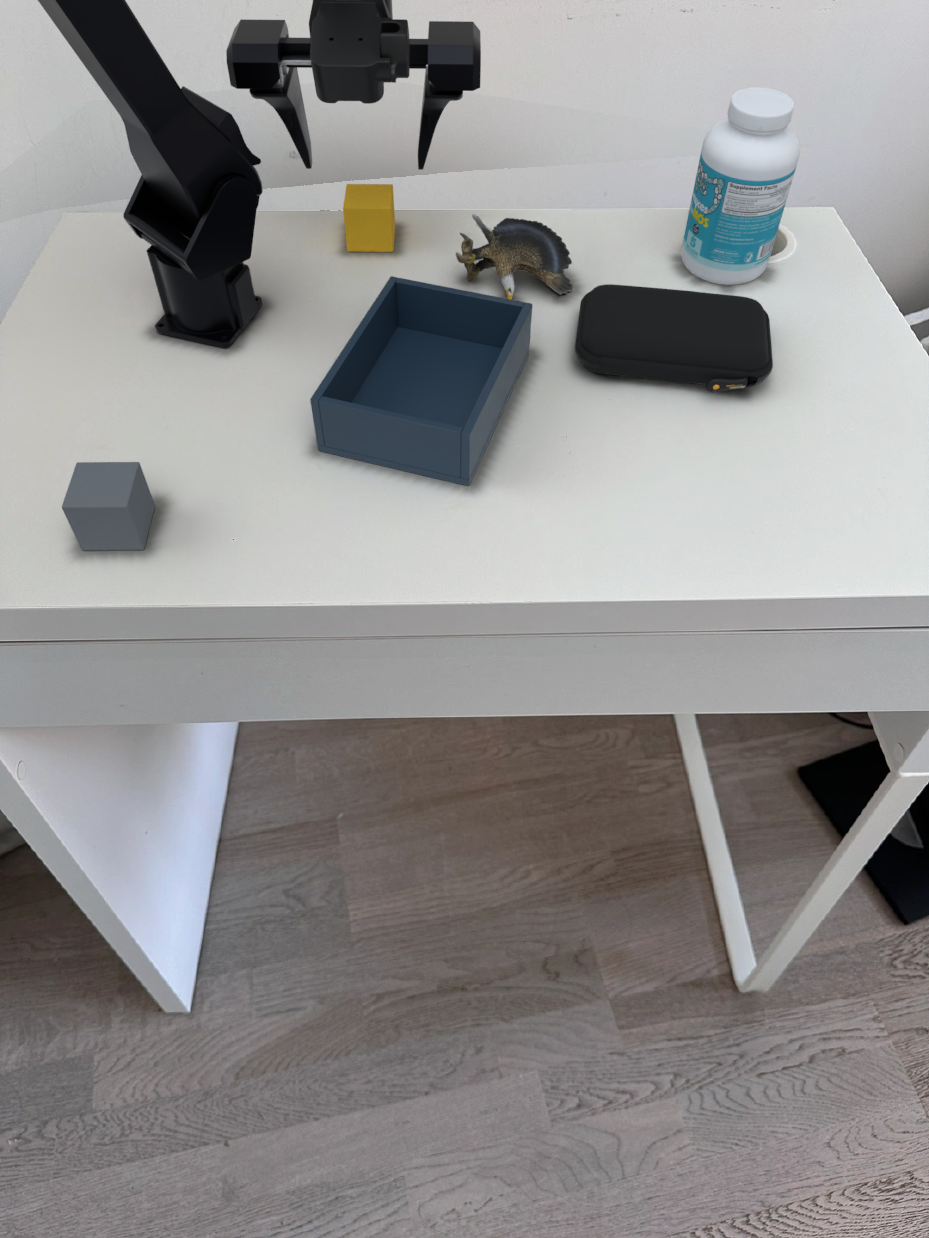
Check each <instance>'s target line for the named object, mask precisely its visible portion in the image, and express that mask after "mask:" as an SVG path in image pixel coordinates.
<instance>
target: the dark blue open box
mask: <svg viewBox="0 0 929 1238" xmlns="http://www.w3.org/2000/svg"><path fill="white" fill-rule="evenodd" d="M532 316H533V303H532V302H531V303H530V302H525V301H519V300H515V299H512V300H511V299H507V298H505V297H500V296H495V295H489V294H485V293H479V292H473V291H469V290H465V289H458V288H453V287H448V286H444V285H439V284H433V283H428V282H424V281H418V280H412V279H408V278H402V277H397V276H389V278H388V280H387V281H386V283H385V284H384V286H383V287H382V289H381V290H380V292H379V294H378V295H377V297H376V298H375V300H374V301H373V303H371V306H370V307H369V309H368V310H367V312H366V313H365V314H364V317H363V318H362V319H361V321H360V323H359V324H358V325H357V327H356V328H355V330H354V331H353V333H352V335H351V336H350V338H349V339H348V341H347V342H346V344H345V345H344V347H343V348H342V350H341V351H340V353H339V355H338V356H337V358H335V360H334V362H333V364H332V365H331V367H330V368H329V370H328V371H327V373H326V374H325V376H324V377H323V379H322V380H321V382H320V383H319V385H318V386H317V388H316V389H315V391H314V393H313V394H312V396H311V397H310V399H309V400H310V401H309V402H310V409H311V415H312V420H313V427H314V432H315V434H314V435H315V440H316V445H317V450H318V452H323V453H327V454H331V455H336V456H339V457H344V458H348V459H353V460H357V461H360V462H364V463H369V464H374V465H378V466H383V467H387V468H391V469H395V470H399V471H404V472H408V473H411V474H416V475H421V476H424V477H428V478H433V479H437V480H441V481H446V482H451V483H455V484H459V485H463V486H467V487H469V486H470V485H471V482H472V480H473V478H474V476H475V473H476V472H477V469H478V467H479V465H480V463H481V460H482V459H483V456H484V454H485V452H486V449H487V447H488V445H489V444H490V441H491V439H492V437H493V435H494V432H495V430H496V428H497V425H498V424H499V421H500V419H501V418H502V415H503V412H504V410H505V408H506V406H507V404H508V401H509V399H510V397H511V395H512V393H513V391H514V388H515V386H516V384H517V382H518V380H519V378H520V375H521V373H522V371H523V369H524V366H525V365H526V362H527V360H528V358H529V355H530V346H531V345H530V343H531V333H532V332H531V331H532Z"/></svg>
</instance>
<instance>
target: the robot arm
mask: <svg viewBox="0 0 929 1238" xmlns="http://www.w3.org/2000/svg"><path fill="white" fill-rule="evenodd" d="M37 2H38V3H39V4H40V5H41V7H42V8H43V10H44V11H45V12H46V14H47V15H48V17H49V18H50V20H51V21H52V22H53V24H54V25H55V27H56V28H57V29H58V31H59V32H60V34H61V35H62V36H63V38H64V39H65V40H66V42H67V43H68V45H69V46H70V48H71V49H72V50H73V52H74V53H75V55H76V56H77V58H78V59H79V60H80V61H81V63H82V64H83V66H84V67H85V68H86V70H87V71H88V73H89V74H90V75H91V77H92V78H93V80H94V81H95V82H96V84H97V85H98V87H99V88H100V89H101V91H102V93H103V94H104V95H105V97H106V99H108V101H109V102H110V104H111V105H112V107H113V109H115V110H116V112H117V113H118V115H119V116H120V118H121V120H122V122H123V124H124V128H125V133H126V138H127V143H128V148H129V151H130V154H131V156H132V158H133V160H134V162H135V163H136V166H137V168H138V170H139V172H140V174H141V175H140V177H139V179H138V182H137V184H136V186H135V188H134V190H133V193H132V195H131V197H130V199H129V201H128V203H127V205H126V207H125V210H124V212H123V214H122V216H123V219H124V221H125V223H127V225H128V226H129V228H130V229H131V230H132V231H133V233H134V234H135V236H137V238H138V239H141V240H144V241H145V242H147V243H148V244H149V245H150V246H149V247H148V248H147V249H146V254H147V257H148V260H149V264H150V268H151V272H152V275H153V278H154V281H155V286H156V288H157V293H158V296H159V299H160V303H161V306H162V311H163V315H162V316H161V318H159V320H158V321H157V322H156V323H155V324H154V329H155V331H156V333H158V334H161V335H165V336H170V337H174V338H179V339H184V340H188V341H194V342H197V343H201V344H205V345H206V344H207V345H211V346H216V347H220V348H228V347H231V345H232V344H233V343H234V342H235V340H236V339H237V338H238V337H239V335H241V333H242V332H243V330H244V329H245V328H246V326H247V325H248V323H249V322H250V321H251V320H252V319H253V317H254V316H255V315H256V313H257V312H258V311H259V309H260V308H261V307H262V306H263V300H262V297H261V296H259V295H255V290H254V284H253V280H252V274H251V270H250V269H251V268H250V266H249V265H248V264H246V263H244V262H246V261H249V260H250V259H251V257H252V249H253V242H254V236H255V235H254V234H255V225H256V218H257V209H258V207H259V203H260V196H261V195H262V194H263V192H264V191H263V183H262V180H261V177H260V175H259V172H258V170H257V169H256V168H255V166H259V165H260V164H261V163H262V159H261V158H260V157H258V156H257V155H255V153H253V152H252V151H251V150H250V148H249V147H248V146H247V143H246V142H245V139H244V137H243V134H242V131H241V129H240V126H239V125H238V123H237V121H236V120H235V118H234V116H233V114H232V113H230V112H228V111H227V110H225V109H224V108H223V107H220V106H219V105H217V104H215V103H213V102H212V101H210V100H208V99H207V98H205V97H203V96H201V95H200V94H198V93H196V92H195V91H193V90H191V89H189V88H188V87H186V86H182V87H180V85H179V84H178V82H177V80H176V79H175V77H174V75H173V74H172V72H171V71H170V70H169V68H168V66H167V65H166V62H165V61H164V60H163V58H162V56H161V55H160V53H159V51H158V50H157V48H156V47H155V46H154V44H153V42H152V40H151V39H150V37H149V36H148V35H147V33H146V31H145V30H144V28H143V26H142V24H141V23H140V22H139V20H138V18H137V17H136V15H135V13H134V12H133V11H132V9H131V7H130V5H129V4H128V2H127V1H126V0H37ZM308 19H309V20H308V28H309V31H308V32H309V37H290V35H289V27H288V24H287V22H286V20H285V19H240V20H239V21H238V23H237V24H236V26H235V27H234V29H233V31H232V34H231V36H230V39H229V42H228V45H227V47H226V50H225V51H226V52H225V53H226V67H227V72H228V77H229V83H230V86H231V87H232V88H234V89H237V90H249V94H250V97H252V98H253V99H255V100H263V101H265V102H266V103H267V104H268V105H270V106H271V107H272V109H274V110H275V112H276V113H277V115H278V116H279V118H280V119H281V121H282V123H283V124H284V126H285V128H286V130H287V132H288V134H289V136H290V139H291V140H292V142H293V145H294V147H295V148H296V150H297V153H298V155H299V156H300V158H301V161H302V163H303V165H304V167H305V169H306V170H307V169H308V170H311V169H312V167H313V153H312V151H313V150H312V141H311V140H312V139H311V135H310V130H309V125H308V120H307V114H306V108H305V102H304V99H303V92H302V88H301V87H302V86H301V82H300V77H299V71H298V68H301V69H302V68H305V69H307V68H309V69H311V71H312V76H313V83H314V88H315V94H316V97H317V99H318V100H320V101H321V102H322V103H326V104H337V103H338V102H360V103H362V104H364V105H365V104H367V105H368V104H375V103H377V102H379V101H381V100H382V99H383V97H384V93H385V83H393V84H394V83H395V84H396V83H397V79H409V77H410V72H411V71H410V69H411V70H412V69H414V70H416V69H418V70H419V69H420V70H421V69H422V70H423V69H425V72H424V82H423V83H424V84H423V91H422V92H423V93H422V101H421V111H420V120H419V121H420V123H419V130H418V132H419V133H418V144H417V170H418V171H423V170H424V168H425V164H426V161H427V158H428V155H429V152H430V149H431V148H430V147H431V145H432V142H433V137H434V134H435V131H436V128H437V125H438V123H439V120H440V119H441V116H442V114H443V111H444V109H445V108H446V107H447V106H448V104H449V103H450V102H454V101H455V102H457V101H460V100H461V99H463V97H464V92H466V91H467V92H474V91H476V90H478V89H480V88H481V72H482V70H481V69H482V68H481V67H482V65H481V64H482V61H481V60H482V47H481V42H482V41H481V30H480V29H479V28H478V26H477V25H476V23H475V22H474V21H459V20H457V21H456V20H455V21H453V20H452V21H449V20H448V21H447V20H444V21H442V20H440V21H438V20H429V21H428V31H427V32H428V34H427V38H410V29H409V21H408V20H407V19H399V18H398V19H397V18H396V19H394V15H393V0H312V5H311V9H310V14H309V18H308Z"/></svg>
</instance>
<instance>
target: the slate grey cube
mask: <svg viewBox="0 0 929 1238" xmlns="http://www.w3.org/2000/svg"><path fill="white" fill-rule="evenodd" d="M155 508H156V504H155V502H154V498H153V496H152V493H151V490H150V487H149V485H148V482H147V479H146V476H145V473H144V471H143V468H142V465H141V463H140V461H88V462H87V461H85V462H83V461H80V462H79V461H78V462H76V463H75V466H74V469H73V472H72V474H71V478H70V480H69V483H68V487H67V490H66V492H65V496H64V498H63V501H62V505H61V509H62V512H63V513H64V515H65V518H66V520H67V522H68V524H69V526H70V528H71V530H72V533H73V535H74V537H75V539H76V541H77V543H78V545H79V547H80V549H81V551H144V550H145V548H146V543H147V539H148V535H149V532H150V527H151V523H152V521H153V520H152V519H153V516H154V512H155Z"/></svg>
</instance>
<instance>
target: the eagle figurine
mask: <svg viewBox="0 0 929 1238" xmlns="http://www.w3.org/2000/svg"><path fill="white" fill-rule="evenodd" d="M471 218H472V219H473V221H474V222H475V224H476V226H477V227H478V228H479V229H480V230H481V232H482V234H483V235H484V237H485V239H486V240H487V243H486V244H484V245H482V246H479V247H476V248H475V247H474V240H473V239H471V237H469V236H468V235H467V234H465V233H463V232H459V235H460V236H461V238H463V240H462V242H461V244H460V245H461V254H460V253H459V252H455V257H456V260H457V261H458V263H460V264H463V266H464V268H465V269H466V276H465V277H466V280H467V282H470V281H473V280H474V278H476V277H477V276H478V275H479V274H480V273H481V272H482V271H484V270H488V269H491V268H494V270H495V274H496V275H497V277H498V279H499V281H500V283H501V284H502V286H503V289H504V292H505V294H506V299H511V300H513V296H514V294H515V280H514V272H517V271H522V272H526V273H529V275H532V276H534V277H535V278H537V279H539V280H540V281H542V282H543V283H544V284H545V285H547V286H548V287H549V288H551V290H553V291H554V292H555V293H556V294H557V295H559V296H562V295H563V294H564V295H566V294H568V293H570V292H572V291H573V288H574V285H573V284H572V283H571V282H572V281H571V279H570V278H568V277H567V276H566V274H565V273H564V270H568V269H569V267H570V265H572V264H573V261H572V258H571V257H570V256H569V255H570V250H569V249H568V248H567V244H566V243H565V242H564V241H563V237H561V235H558V233H557V232H555V231H554V230H553V229H552V228H551V227H548V225H546V224H543V222H540V221H537V220H530V219H529V220H527V219H524V218H521V219H520V218H514V217H505V218H503V220H500V221H499V223H497V224H496V225H495V226H494V227H493V229H492V228H490V227H489V226H488V225H487V224H485V223H484V222H483V220H482V218H480V216H479V215H477V214H475V213H472V214H471ZM473 247H474V248H473ZM475 261H477V262H476V263H475Z"/></svg>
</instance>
